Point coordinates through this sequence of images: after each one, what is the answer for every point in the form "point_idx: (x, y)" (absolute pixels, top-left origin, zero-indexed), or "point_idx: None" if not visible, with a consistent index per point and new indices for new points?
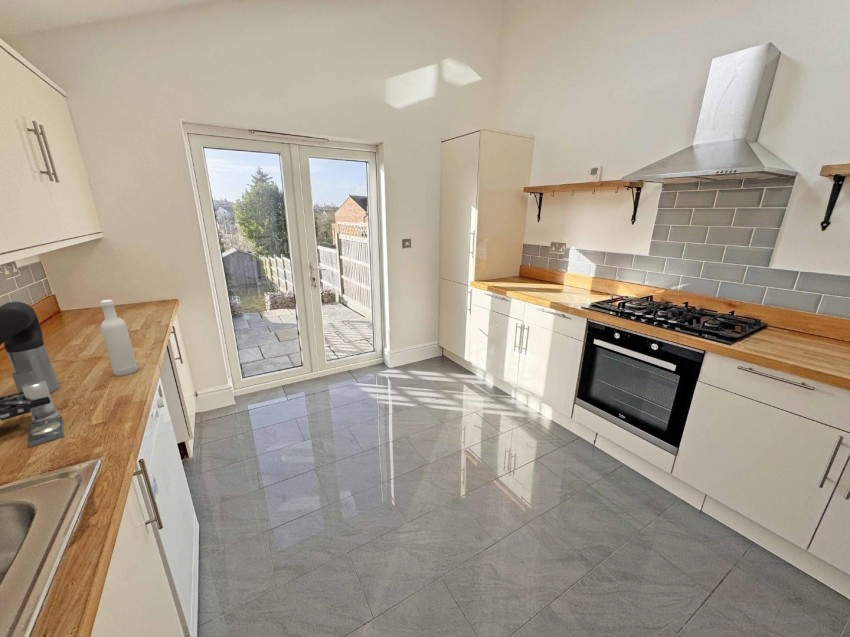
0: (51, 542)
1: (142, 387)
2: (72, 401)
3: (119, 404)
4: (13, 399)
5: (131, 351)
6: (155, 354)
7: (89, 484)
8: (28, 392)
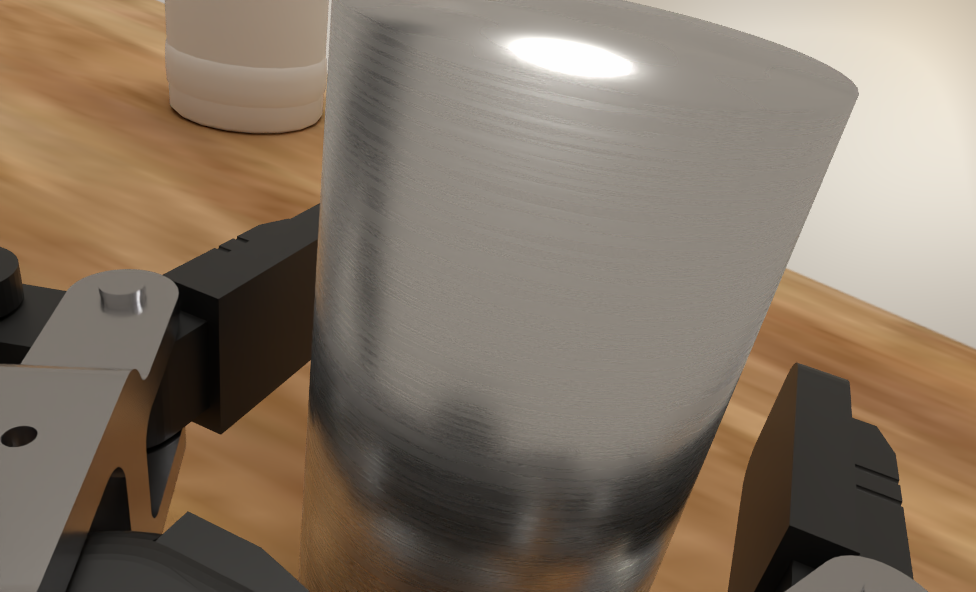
0: None
1: None
2: (299, 373)
3: (838, 376)
4: (65, 564)
5: None
6: None
7: None
8: (733, 282)
